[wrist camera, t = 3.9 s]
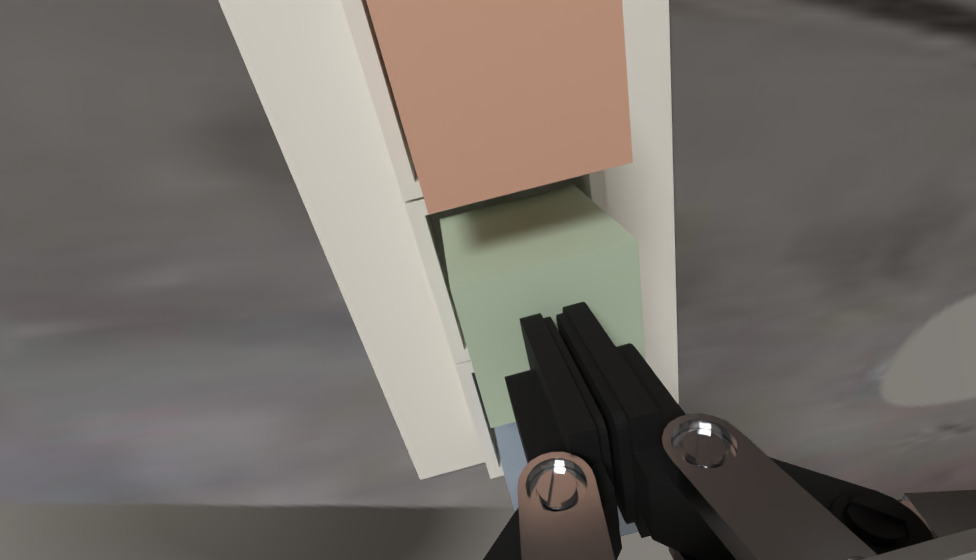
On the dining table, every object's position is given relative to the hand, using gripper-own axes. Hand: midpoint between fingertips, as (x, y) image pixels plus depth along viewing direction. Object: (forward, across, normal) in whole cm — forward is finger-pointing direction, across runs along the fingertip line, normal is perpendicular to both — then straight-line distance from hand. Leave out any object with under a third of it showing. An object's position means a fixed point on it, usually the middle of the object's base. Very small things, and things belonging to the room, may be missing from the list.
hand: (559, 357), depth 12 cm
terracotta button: (+5, 0, -7) cm, 9 cm away
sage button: (+5, 0, 0) cm, 5 cm away
